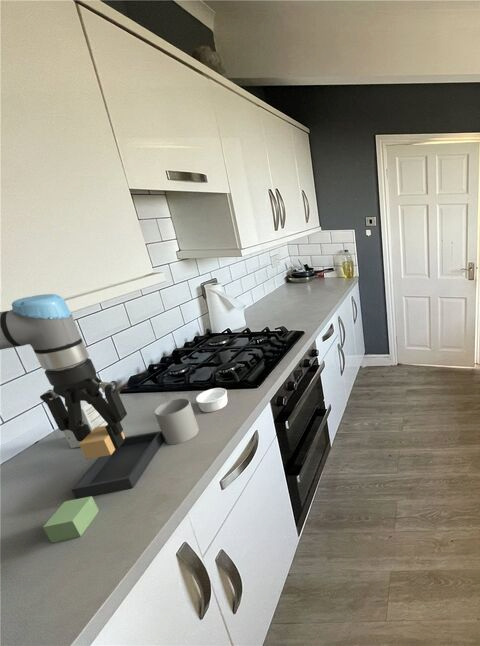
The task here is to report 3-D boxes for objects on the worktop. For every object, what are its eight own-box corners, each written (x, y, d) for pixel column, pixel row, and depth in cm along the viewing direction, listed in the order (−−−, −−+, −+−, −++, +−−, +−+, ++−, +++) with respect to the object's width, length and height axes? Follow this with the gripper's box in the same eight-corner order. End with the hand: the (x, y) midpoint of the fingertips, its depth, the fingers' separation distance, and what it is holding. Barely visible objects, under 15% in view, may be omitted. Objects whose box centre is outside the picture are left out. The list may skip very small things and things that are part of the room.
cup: (195, 422, 109) (187, 395, 105) (201, 434, 103) (192, 406, 100) (163, 434, 104) (152, 406, 100) (167, 448, 98) (156, 419, 94)
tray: (76, 499, 82) (70, 489, 81) (118, 447, 99) (114, 438, 98) (133, 488, 85) (129, 478, 84) (165, 439, 102) (162, 430, 101)
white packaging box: (70, 449, 99) (51, 411, 94) (89, 432, 106) (73, 396, 101) (99, 445, 100) (82, 408, 95) (116, 429, 107) (101, 394, 102)
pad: (51, 542, 72) (42, 527, 70) (72, 516, 78) (64, 501, 76) (81, 536, 73) (72, 520, 72) (99, 510, 79) (91, 496, 77)
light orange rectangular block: (86, 459, 82) (78, 444, 80) (102, 441, 88) (95, 427, 86) (111, 455, 83) (104, 439, 82) (125, 437, 89) (119, 423, 88)
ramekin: (235, 399, 120) (232, 389, 119) (215, 415, 112) (211, 403, 111) (214, 397, 122) (211, 386, 121) (192, 412, 114) (189, 400, 113)
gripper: (123, 350, 83) (155, 430, 91) (30, 362, 78) (72, 444, 87) (105, 365, 76) (141, 449, 84) (2, 378, 72) (50, 466, 80)
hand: (106, 447), depth 86 cm, fingers closed on light orange rectangular block, 5 cm apart
